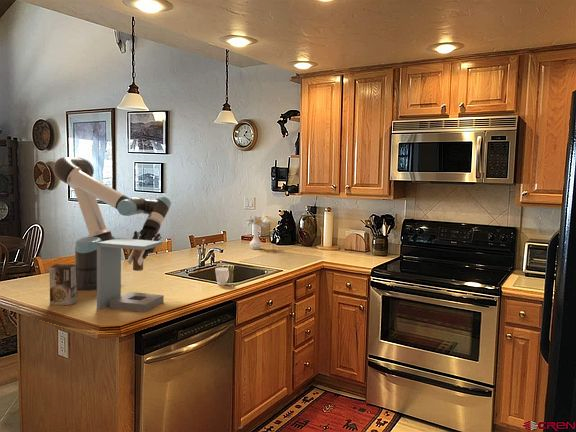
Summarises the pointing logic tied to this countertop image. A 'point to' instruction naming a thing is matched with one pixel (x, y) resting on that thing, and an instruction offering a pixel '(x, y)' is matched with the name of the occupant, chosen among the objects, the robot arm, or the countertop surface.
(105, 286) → the grey l-shaped frame
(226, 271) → the cup
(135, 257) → the peg
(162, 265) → the countertop surface
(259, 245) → the flower vase
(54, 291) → the coffee box
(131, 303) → the socket
